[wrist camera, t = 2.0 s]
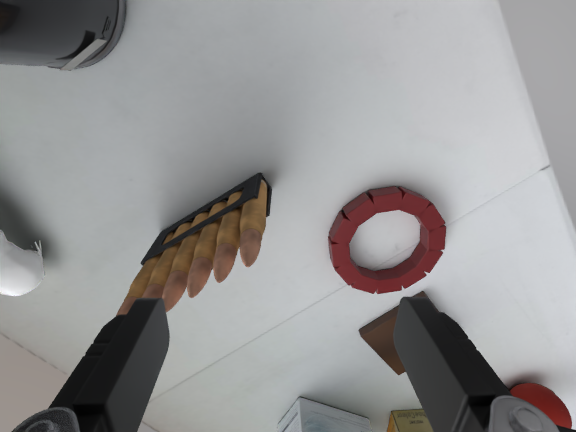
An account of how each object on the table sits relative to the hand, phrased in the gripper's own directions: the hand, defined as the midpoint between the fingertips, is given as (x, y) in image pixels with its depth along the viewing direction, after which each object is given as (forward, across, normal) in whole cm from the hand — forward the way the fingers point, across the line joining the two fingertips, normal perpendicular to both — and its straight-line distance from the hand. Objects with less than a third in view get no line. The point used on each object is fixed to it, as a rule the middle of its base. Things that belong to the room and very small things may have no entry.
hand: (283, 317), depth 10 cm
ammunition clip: (+17, +5, +3) cm, 18 cm away
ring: (+17, -10, +6) cm, 20 cm away
